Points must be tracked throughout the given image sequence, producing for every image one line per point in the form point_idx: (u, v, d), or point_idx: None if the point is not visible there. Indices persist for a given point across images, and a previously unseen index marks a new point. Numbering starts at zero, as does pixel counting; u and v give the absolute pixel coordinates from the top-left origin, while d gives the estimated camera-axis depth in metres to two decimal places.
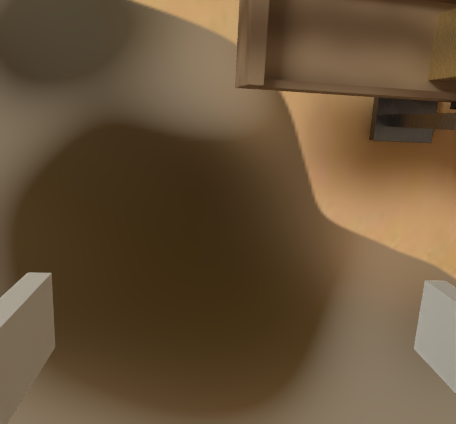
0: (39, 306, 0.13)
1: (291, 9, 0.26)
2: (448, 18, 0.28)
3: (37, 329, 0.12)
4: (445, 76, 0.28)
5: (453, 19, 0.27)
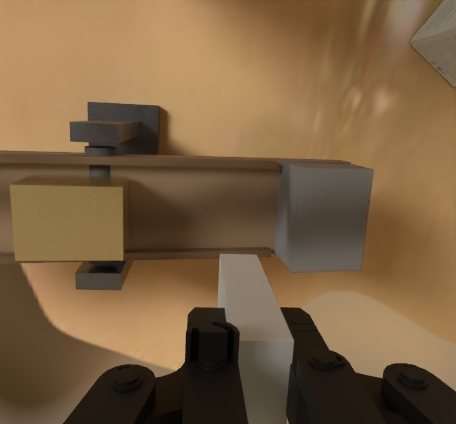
0: None
1: None
2: None
3: None
4: None
5: None
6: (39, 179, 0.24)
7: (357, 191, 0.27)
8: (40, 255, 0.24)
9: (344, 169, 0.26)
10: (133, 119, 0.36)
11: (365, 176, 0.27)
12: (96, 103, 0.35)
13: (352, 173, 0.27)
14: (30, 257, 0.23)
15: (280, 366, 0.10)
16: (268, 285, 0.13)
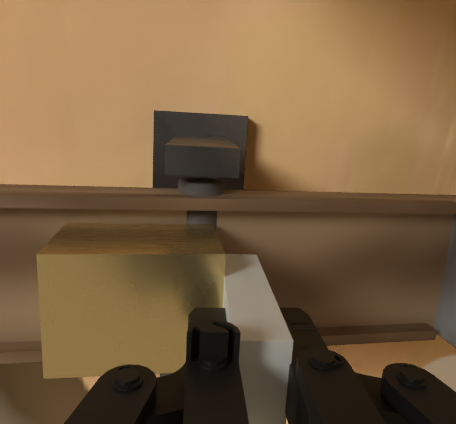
0: None
1: None
2: None
3: None
4: None
5: None
6: (82, 236, 0.15)
7: None
8: (85, 367, 0.14)
9: None
10: (214, 134, 0.27)
11: None
12: (165, 112, 0.26)
13: None
14: (69, 372, 0.14)
15: (279, 366, 0.10)
16: (268, 285, 0.13)
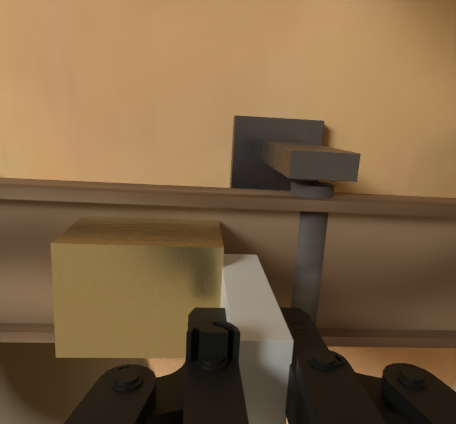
0: None
1: None
2: None
3: None
4: None
5: None
6: (94, 229, 0.16)
7: None
8: (93, 349, 0.15)
9: None
10: (291, 138, 0.28)
11: None
12: (246, 117, 0.27)
13: None
14: (79, 352, 0.15)
15: (280, 366, 0.10)
16: (268, 285, 0.13)
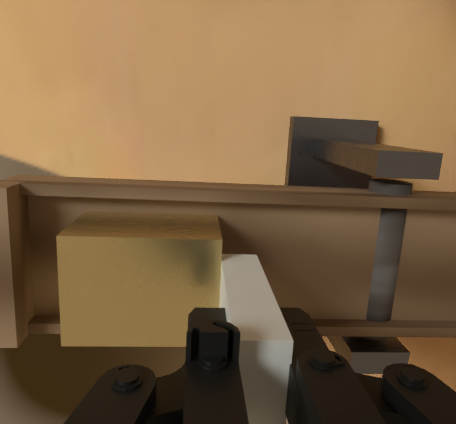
0: None
1: None
2: None
3: None
4: None
5: None
6: (97, 223, 0.17)
7: None
8: (97, 338, 0.16)
9: None
10: (346, 138, 0.29)
11: None
12: (304, 118, 0.28)
13: None
14: (83, 341, 0.16)
15: (280, 366, 0.10)
16: (268, 285, 0.13)
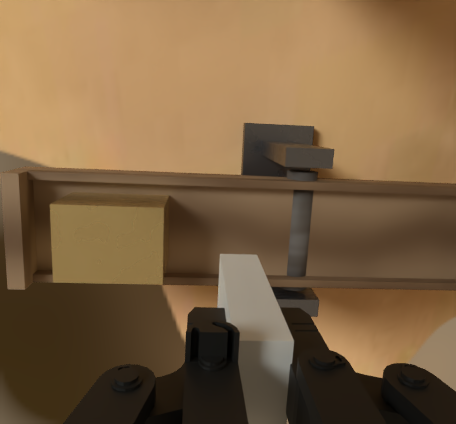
0: None
1: None
2: None
3: None
4: None
5: None
6: (79, 198, 0.24)
7: None
8: (78, 277, 0.23)
9: None
10: (288, 140, 0.36)
11: None
12: (253, 124, 0.35)
13: None
14: (68, 279, 0.23)
15: (280, 366, 0.10)
16: (268, 285, 0.13)
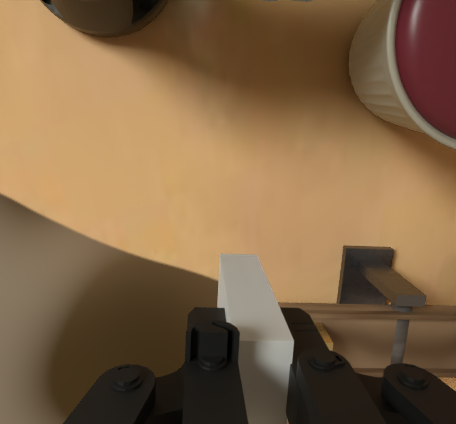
0: None
1: None
2: None
3: None
4: None
5: None
6: None
7: None
8: None
9: None
10: (375, 258, 0.51)
11: None
12: (352, 249, 0.50)
13: None
14: None
15: (280, 366, 0.10)
16: (268, 285, 0.13)
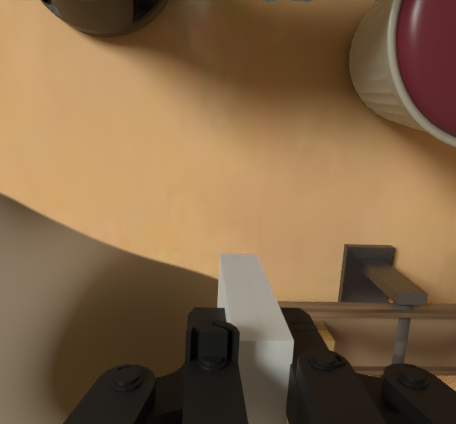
0: None
1: None
2: None
3: None
4: None
5: None
6: None
7: None
8: None
9: None
10: (376, 257, 0.51)
11: None
12: (353, 247, 0.50)
13: None
14: None
15: (280, 366, 0.10)
16: (268, 285, 0.13)
